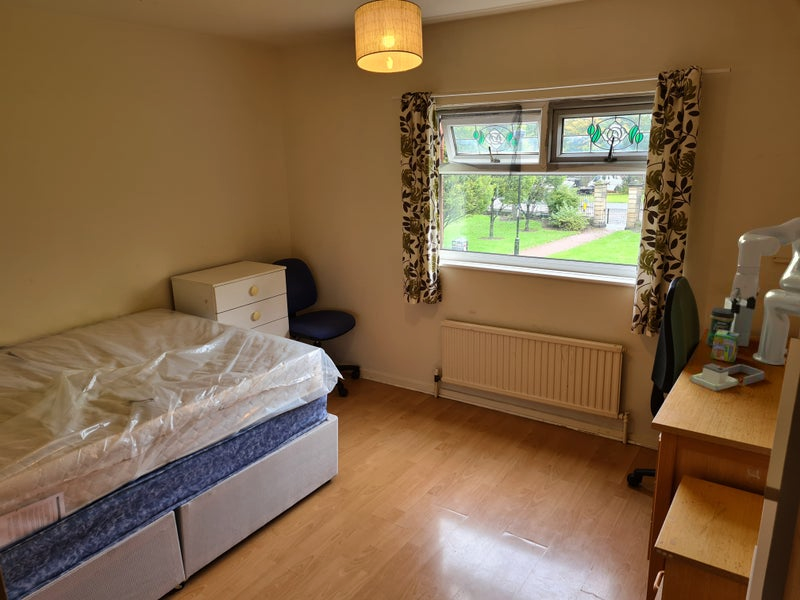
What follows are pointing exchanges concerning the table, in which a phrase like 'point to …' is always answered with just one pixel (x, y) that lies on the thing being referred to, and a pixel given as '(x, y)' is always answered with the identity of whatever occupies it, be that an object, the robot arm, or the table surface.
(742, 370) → the bay
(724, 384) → the dock tray
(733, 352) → the chalk box
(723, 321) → the coffee jar
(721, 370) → the grey box with knob
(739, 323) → the hard drive box
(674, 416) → the table surface
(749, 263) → the robot arm
